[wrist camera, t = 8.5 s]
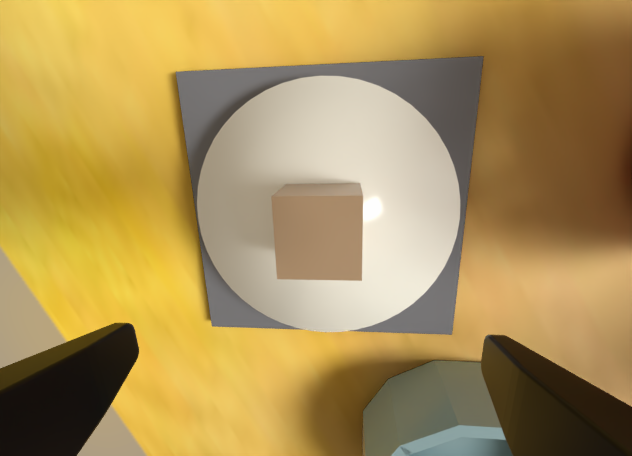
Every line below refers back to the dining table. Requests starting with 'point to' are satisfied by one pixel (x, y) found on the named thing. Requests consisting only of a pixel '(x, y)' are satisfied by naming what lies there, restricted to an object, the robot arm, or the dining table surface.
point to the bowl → (434, 414)
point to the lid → (328, 203)
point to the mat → (395, 76)
